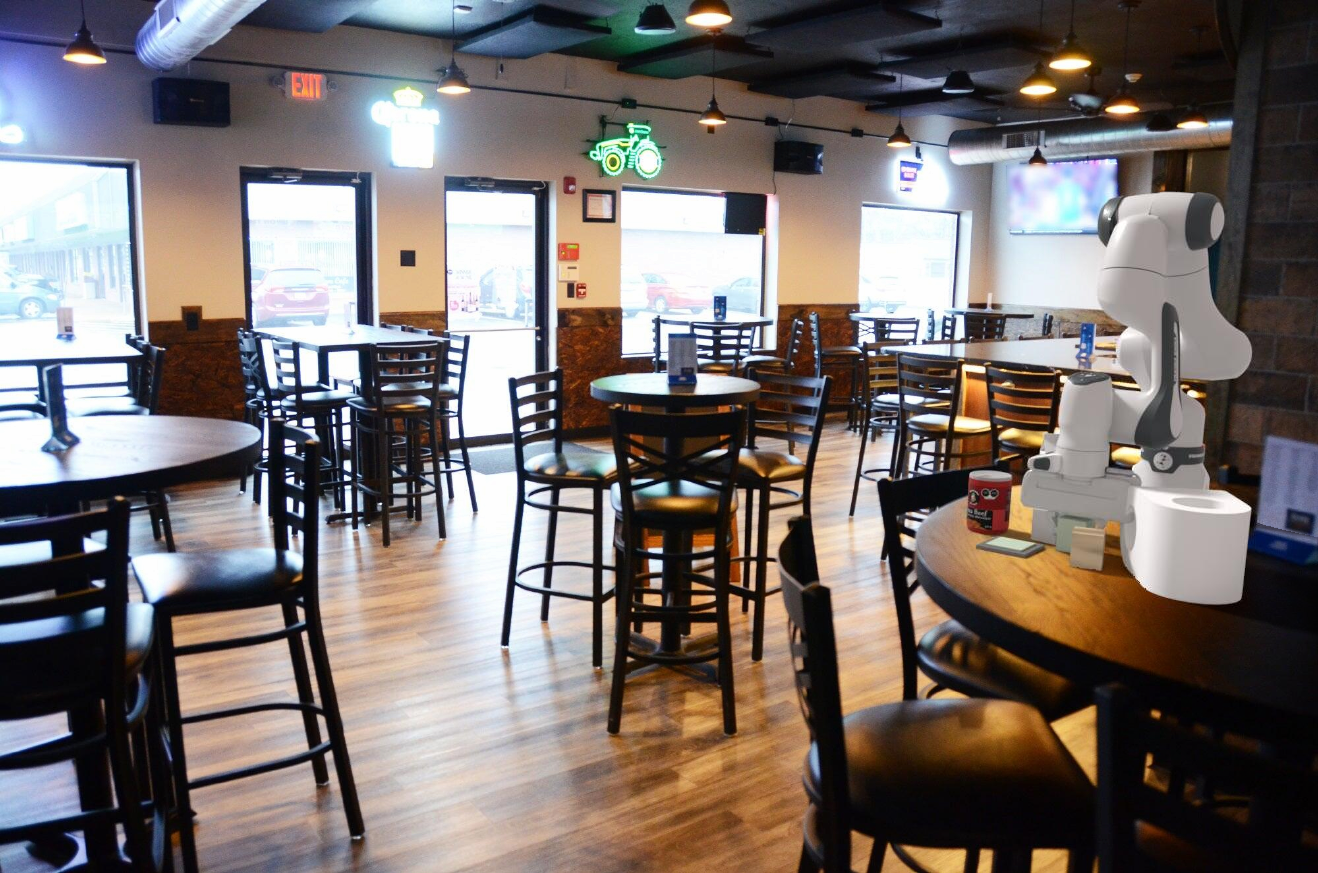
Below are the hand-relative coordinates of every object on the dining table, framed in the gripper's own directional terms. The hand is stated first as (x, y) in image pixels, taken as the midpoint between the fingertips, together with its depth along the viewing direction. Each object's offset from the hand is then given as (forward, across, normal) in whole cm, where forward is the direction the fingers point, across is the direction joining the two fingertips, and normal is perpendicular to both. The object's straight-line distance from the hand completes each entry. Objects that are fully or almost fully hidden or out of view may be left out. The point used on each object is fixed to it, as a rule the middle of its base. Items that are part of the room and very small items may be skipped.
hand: (1075, 538), depth 189 cm
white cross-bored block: (+2, -20, +6) cm, 21 cm away
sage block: (+2, 0, 0) cm, 2 cm away
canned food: (+2, +18, -3) cm, 18 cm away
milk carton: (+2, +8, -12) cm, 15 cm away
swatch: (+2, +9, +7) cm, 12 cm away
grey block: (+2, +6, -4) cm, 8 cm away
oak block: (+2, -5, +8) cm, 10 cm away
